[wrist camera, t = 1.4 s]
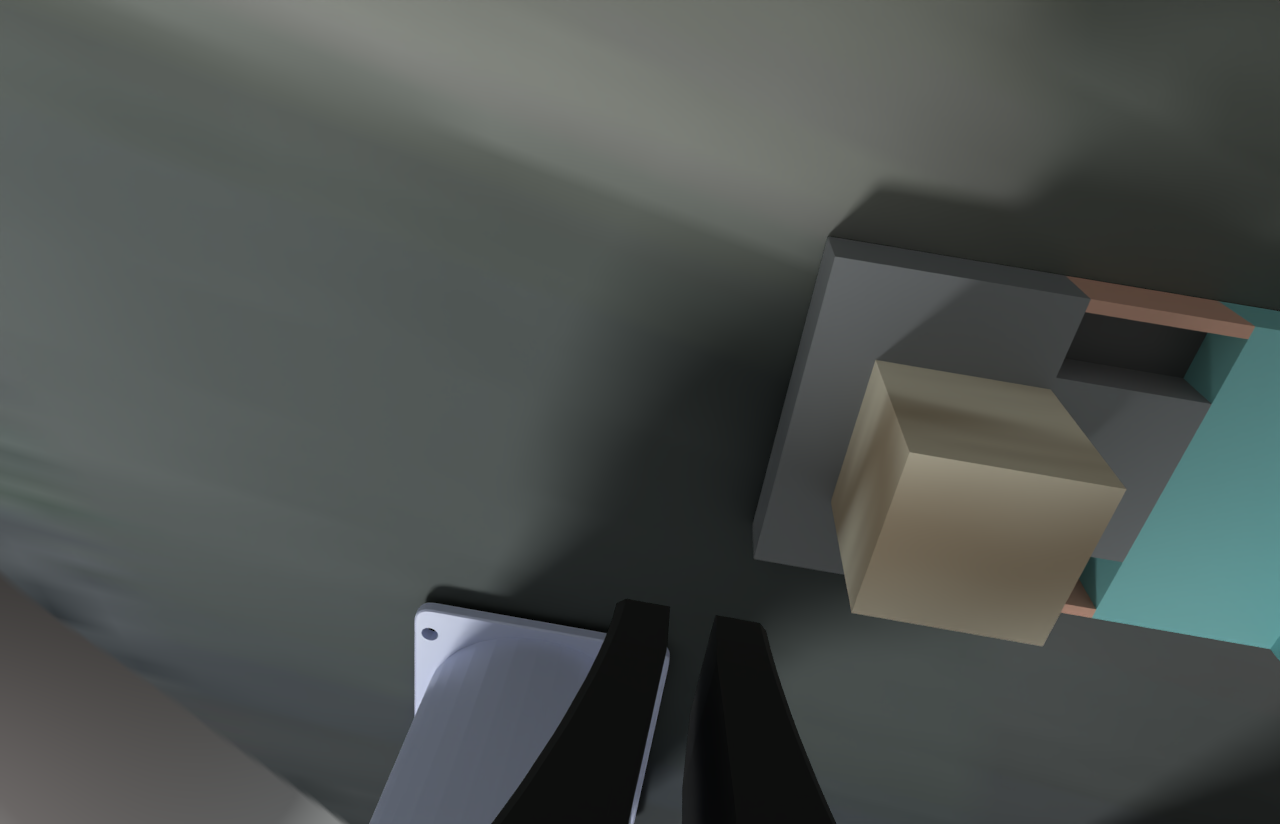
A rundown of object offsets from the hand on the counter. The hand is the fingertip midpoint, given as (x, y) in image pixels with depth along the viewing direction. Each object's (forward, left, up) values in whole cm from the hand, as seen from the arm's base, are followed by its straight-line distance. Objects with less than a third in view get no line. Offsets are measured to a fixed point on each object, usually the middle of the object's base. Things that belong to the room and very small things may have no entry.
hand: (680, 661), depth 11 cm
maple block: (-1, -6, -9) cm, 11 cm away
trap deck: (-1, -9, -10) cm, 14 cm away
